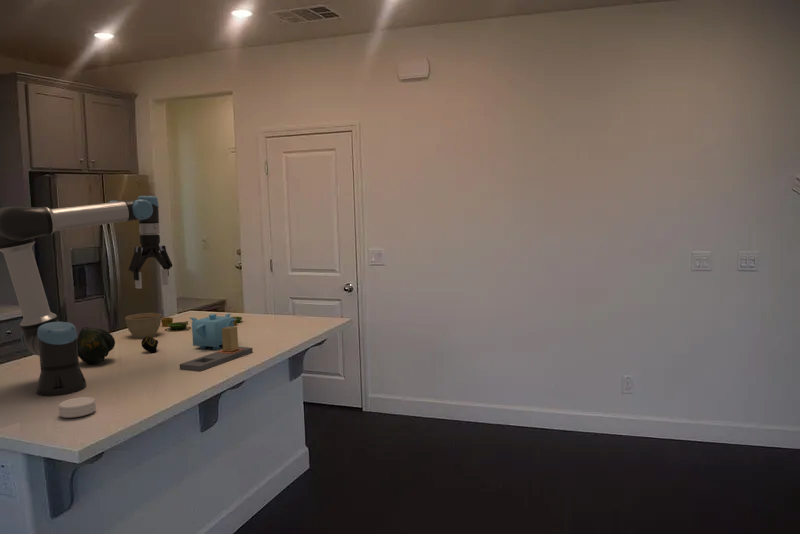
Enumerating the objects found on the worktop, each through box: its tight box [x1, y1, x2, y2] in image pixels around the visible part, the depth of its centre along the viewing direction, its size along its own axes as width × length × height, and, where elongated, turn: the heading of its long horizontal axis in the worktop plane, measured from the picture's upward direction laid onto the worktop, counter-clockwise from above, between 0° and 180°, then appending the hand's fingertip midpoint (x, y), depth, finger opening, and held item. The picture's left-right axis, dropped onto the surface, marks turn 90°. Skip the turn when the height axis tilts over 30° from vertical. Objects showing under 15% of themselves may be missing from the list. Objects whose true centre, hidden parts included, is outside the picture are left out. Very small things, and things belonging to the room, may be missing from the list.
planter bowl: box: [124, 312, 162, 340], centre depth 296 cm, size 16×16×11 cm
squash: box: [77, 326, 116, 365], centre depth 246 cm, size 14×15×15 cm
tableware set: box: [161, 316, 243, 333], centre depth 321 cm, size 41×28×6 cm
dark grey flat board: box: [179, 346, 254, 372], centre depth 246 cm, size 32×10×2 cm, turn 156°
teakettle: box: [189, 312, 237, 351], centre depth 272 cm, size 19×19×15 cm
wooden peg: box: [222, 326, 239, 353], centre depth 253 cm, size 4×4×12 cm
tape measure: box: [140, 336, 159, 354], centre depth 264 cm, size 7×7×4 cm
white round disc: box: [58, 396, 97, 419], centre depth 185 cm, size 10×10×4 cm
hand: (152, 286), depth 247 cm, fingers open, 13 cm apart
